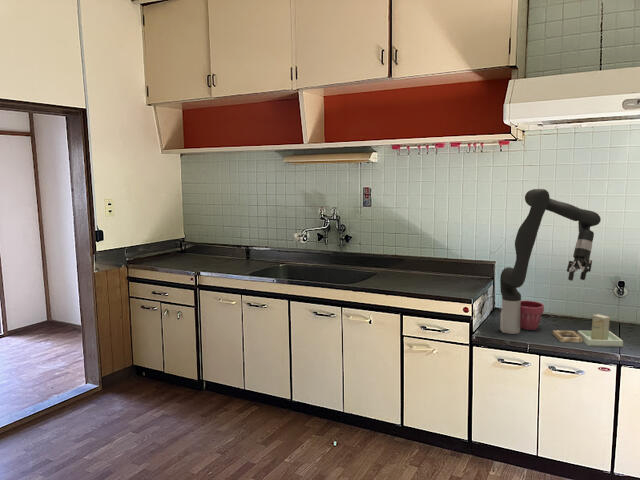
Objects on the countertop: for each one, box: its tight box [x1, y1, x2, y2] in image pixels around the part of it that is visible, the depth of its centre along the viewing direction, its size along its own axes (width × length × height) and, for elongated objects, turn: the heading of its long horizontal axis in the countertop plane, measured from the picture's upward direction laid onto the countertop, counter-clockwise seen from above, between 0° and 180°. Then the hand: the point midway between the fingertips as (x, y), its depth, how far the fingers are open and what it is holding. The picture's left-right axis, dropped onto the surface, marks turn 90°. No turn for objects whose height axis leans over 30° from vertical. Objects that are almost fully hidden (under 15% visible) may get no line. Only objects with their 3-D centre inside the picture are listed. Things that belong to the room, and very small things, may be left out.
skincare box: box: [591, 313, 611, 340], centre depth 250 cm, size 6×4×12 cm
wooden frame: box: [552, 329, 583, 343], centre depth 256 cm, size 10×12×2 cm
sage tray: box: [577, 330, 624, 348], centre depth 251 cm, size 15×15×3 cm
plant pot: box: [520, 300, 545, 331], centre depth 274 cm, size 14×14×13 cm
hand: (576, 279), depth 262 cm, fingers open, 8 cm apart
